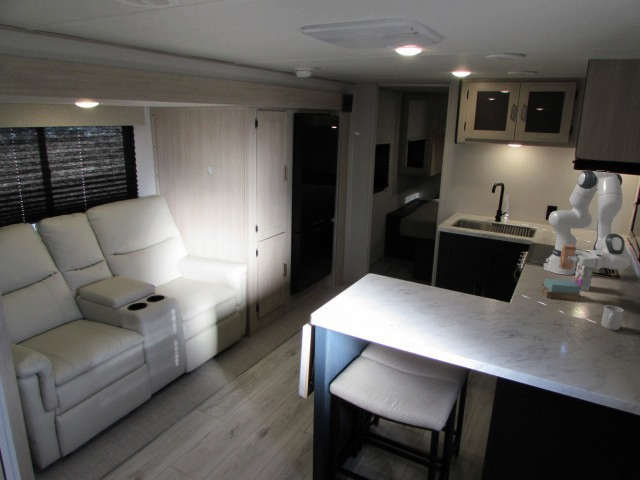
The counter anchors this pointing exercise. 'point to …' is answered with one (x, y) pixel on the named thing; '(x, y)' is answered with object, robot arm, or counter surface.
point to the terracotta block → (564, 262)
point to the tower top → (562, 286)
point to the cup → (612, 317)
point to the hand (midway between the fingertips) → (565, 255)
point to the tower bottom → (560, 295)
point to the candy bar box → (583, 277)
